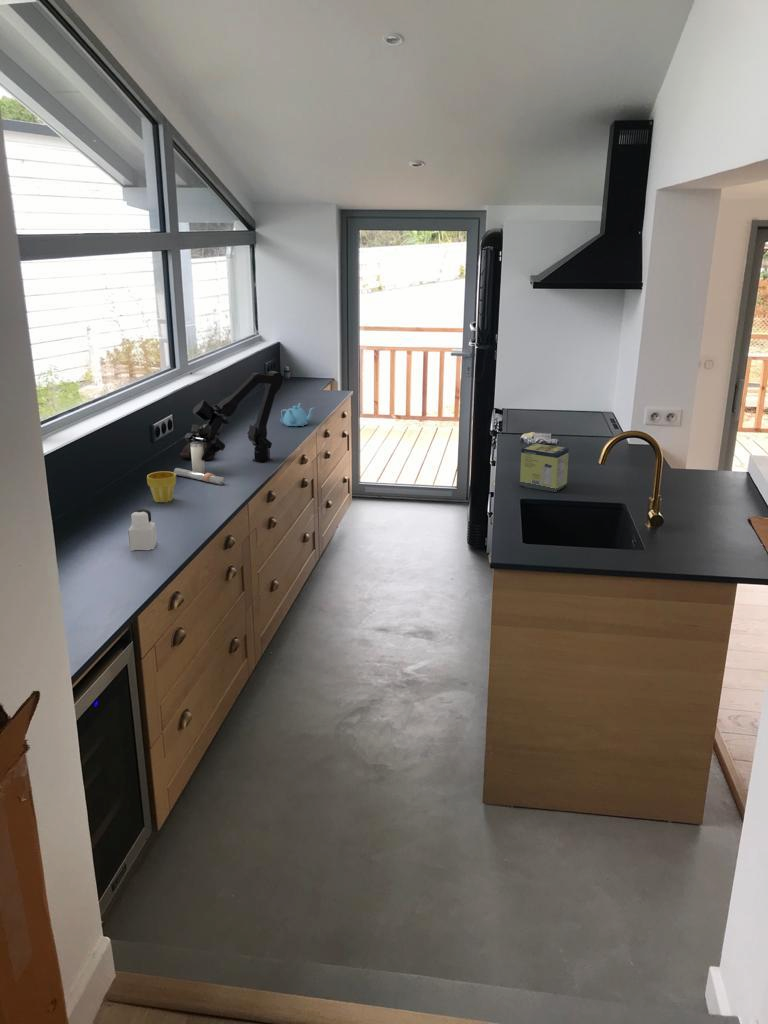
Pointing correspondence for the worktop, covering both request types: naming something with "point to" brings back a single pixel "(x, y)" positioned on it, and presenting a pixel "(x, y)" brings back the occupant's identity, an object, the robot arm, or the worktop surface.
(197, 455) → the white grey cylinder
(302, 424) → the teapot
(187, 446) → the dark brown lump
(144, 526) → the medicine bottle
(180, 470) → the grey steel rod
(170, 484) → the plant pot
